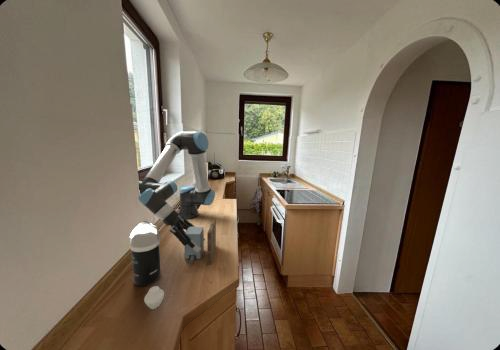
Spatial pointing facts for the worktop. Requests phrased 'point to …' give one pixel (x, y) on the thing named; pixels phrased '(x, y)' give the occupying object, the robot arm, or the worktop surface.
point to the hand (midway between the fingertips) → (201, 245)
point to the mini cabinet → (198, 238)
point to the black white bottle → (145, 253)
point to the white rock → (154, 297)
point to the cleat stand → (209, 243)
